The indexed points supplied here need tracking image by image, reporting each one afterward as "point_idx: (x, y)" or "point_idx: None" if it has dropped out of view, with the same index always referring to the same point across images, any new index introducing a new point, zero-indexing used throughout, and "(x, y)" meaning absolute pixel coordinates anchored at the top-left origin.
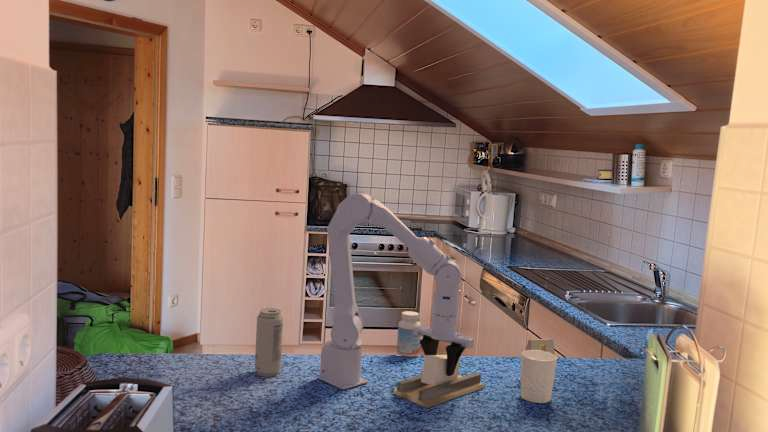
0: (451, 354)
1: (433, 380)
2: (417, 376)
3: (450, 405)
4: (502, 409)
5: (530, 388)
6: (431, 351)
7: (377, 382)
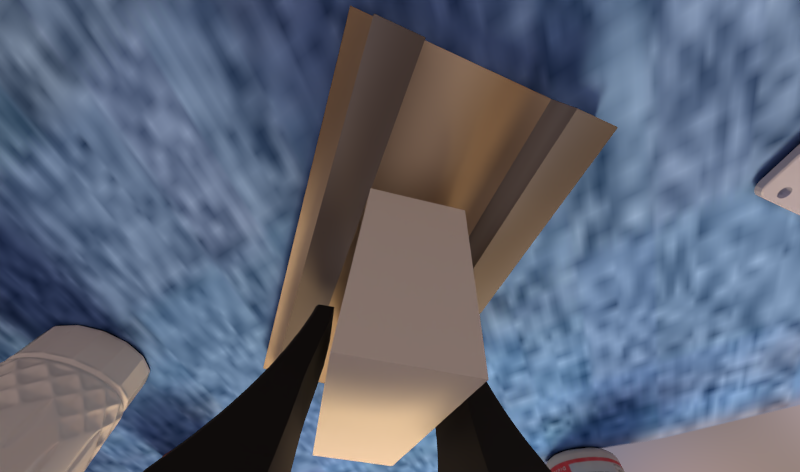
0: (216, 441)
1: (375, 210)
2: (503, 275)
3: (271, 133)
4: (82, 216)
5: (29, 366)
6: (462, 453)
7: (689, 222)
